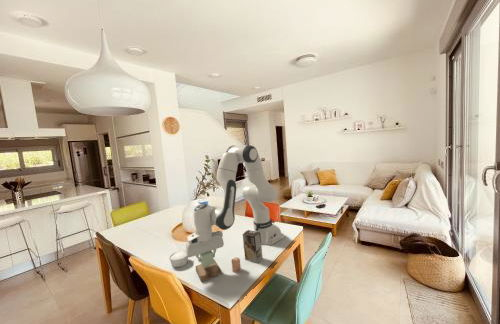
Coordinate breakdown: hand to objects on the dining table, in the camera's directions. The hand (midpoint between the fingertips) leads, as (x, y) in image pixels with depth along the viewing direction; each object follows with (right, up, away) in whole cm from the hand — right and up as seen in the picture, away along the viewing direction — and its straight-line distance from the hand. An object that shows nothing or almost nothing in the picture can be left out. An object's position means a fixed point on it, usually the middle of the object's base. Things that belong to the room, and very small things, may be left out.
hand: (206, 259), depth 114 cm
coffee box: (+26, -5, +11) cm, 28 cm away
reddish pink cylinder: (+16, -7, +1) cm, 18 cm away
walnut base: (+1, -8, +1) cm, 8 cm away
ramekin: (-19, -9, +13) cm, 25 cm away
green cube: (0, -2, 0) cm, 2 cm away
